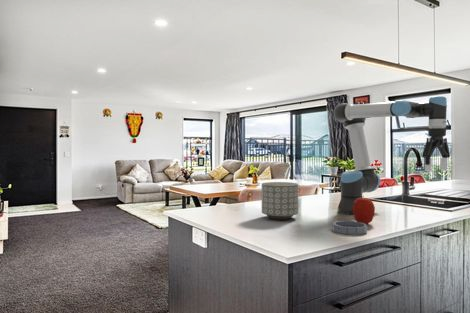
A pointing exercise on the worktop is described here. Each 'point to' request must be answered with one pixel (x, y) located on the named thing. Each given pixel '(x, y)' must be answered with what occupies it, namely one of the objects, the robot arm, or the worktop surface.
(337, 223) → the grey shallow round dish
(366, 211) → the apple
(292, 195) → the planter
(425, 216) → the worktop surface
